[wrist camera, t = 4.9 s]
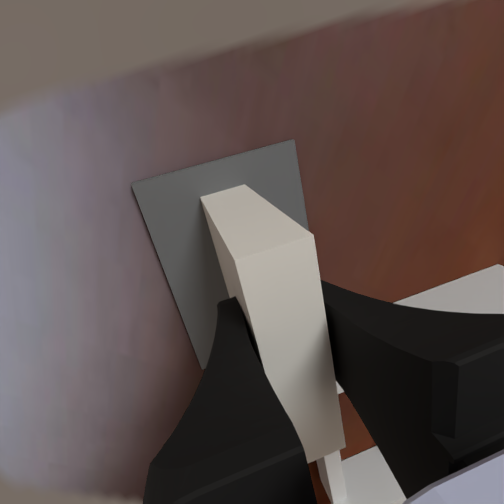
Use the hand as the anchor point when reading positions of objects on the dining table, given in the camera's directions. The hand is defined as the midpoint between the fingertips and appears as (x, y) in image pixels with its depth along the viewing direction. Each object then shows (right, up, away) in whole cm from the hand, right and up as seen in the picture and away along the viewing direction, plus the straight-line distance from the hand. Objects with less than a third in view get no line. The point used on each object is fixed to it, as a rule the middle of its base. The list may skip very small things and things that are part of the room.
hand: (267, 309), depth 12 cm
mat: (-1, +2, +4) cm, 4 cm away
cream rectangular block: (-1, +1, +4) cm, 4 cm away
